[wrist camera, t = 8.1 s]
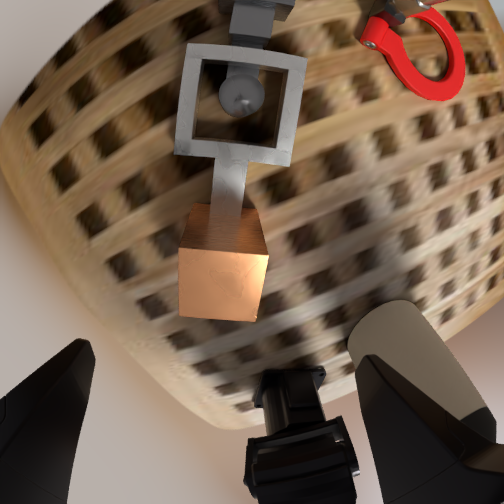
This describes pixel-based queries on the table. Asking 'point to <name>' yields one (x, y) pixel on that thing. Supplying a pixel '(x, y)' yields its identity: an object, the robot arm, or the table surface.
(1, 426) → the robot arm
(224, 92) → the hook
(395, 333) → the travel mug
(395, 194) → the table surface
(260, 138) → the table surface
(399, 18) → the tow hook
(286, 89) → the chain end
